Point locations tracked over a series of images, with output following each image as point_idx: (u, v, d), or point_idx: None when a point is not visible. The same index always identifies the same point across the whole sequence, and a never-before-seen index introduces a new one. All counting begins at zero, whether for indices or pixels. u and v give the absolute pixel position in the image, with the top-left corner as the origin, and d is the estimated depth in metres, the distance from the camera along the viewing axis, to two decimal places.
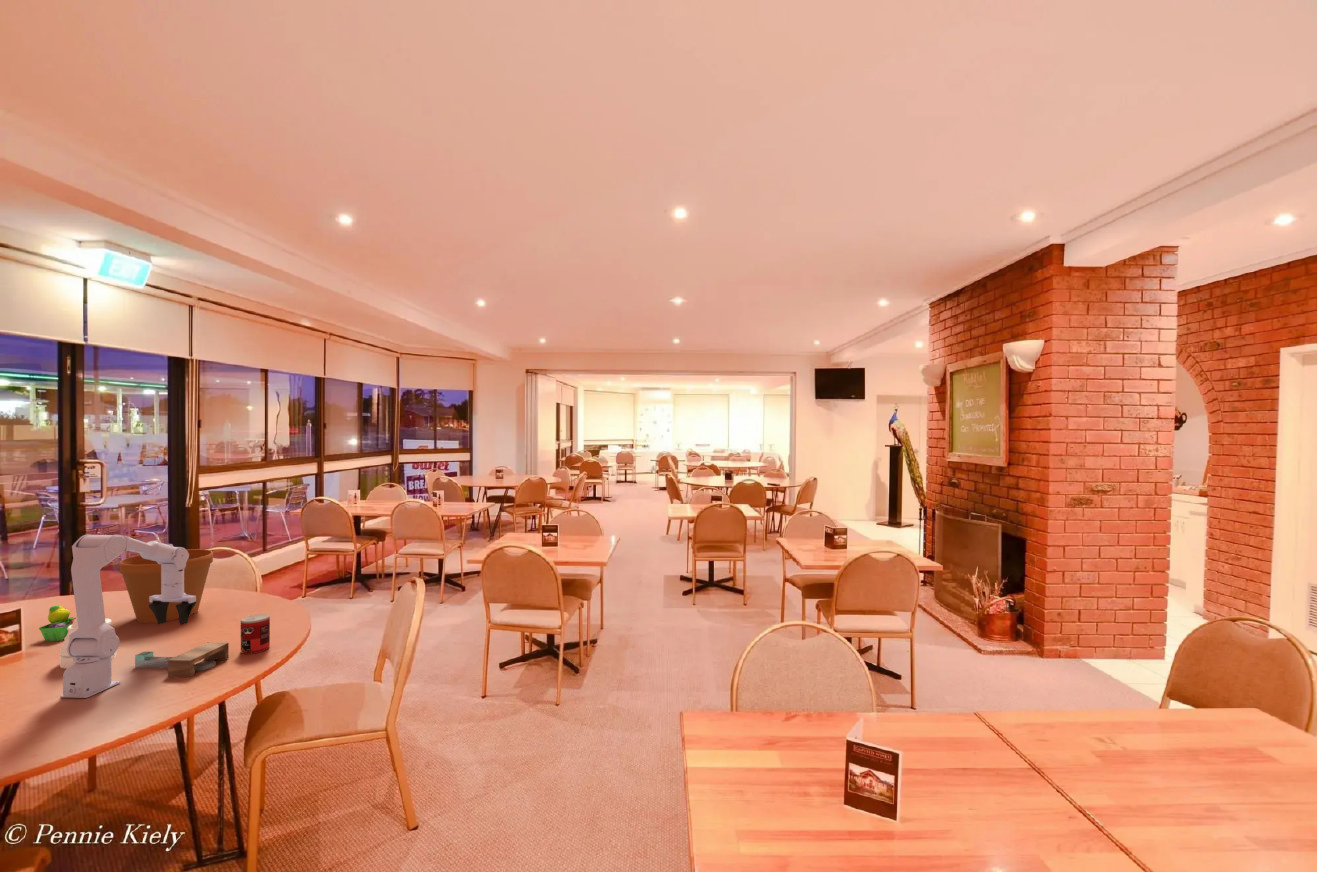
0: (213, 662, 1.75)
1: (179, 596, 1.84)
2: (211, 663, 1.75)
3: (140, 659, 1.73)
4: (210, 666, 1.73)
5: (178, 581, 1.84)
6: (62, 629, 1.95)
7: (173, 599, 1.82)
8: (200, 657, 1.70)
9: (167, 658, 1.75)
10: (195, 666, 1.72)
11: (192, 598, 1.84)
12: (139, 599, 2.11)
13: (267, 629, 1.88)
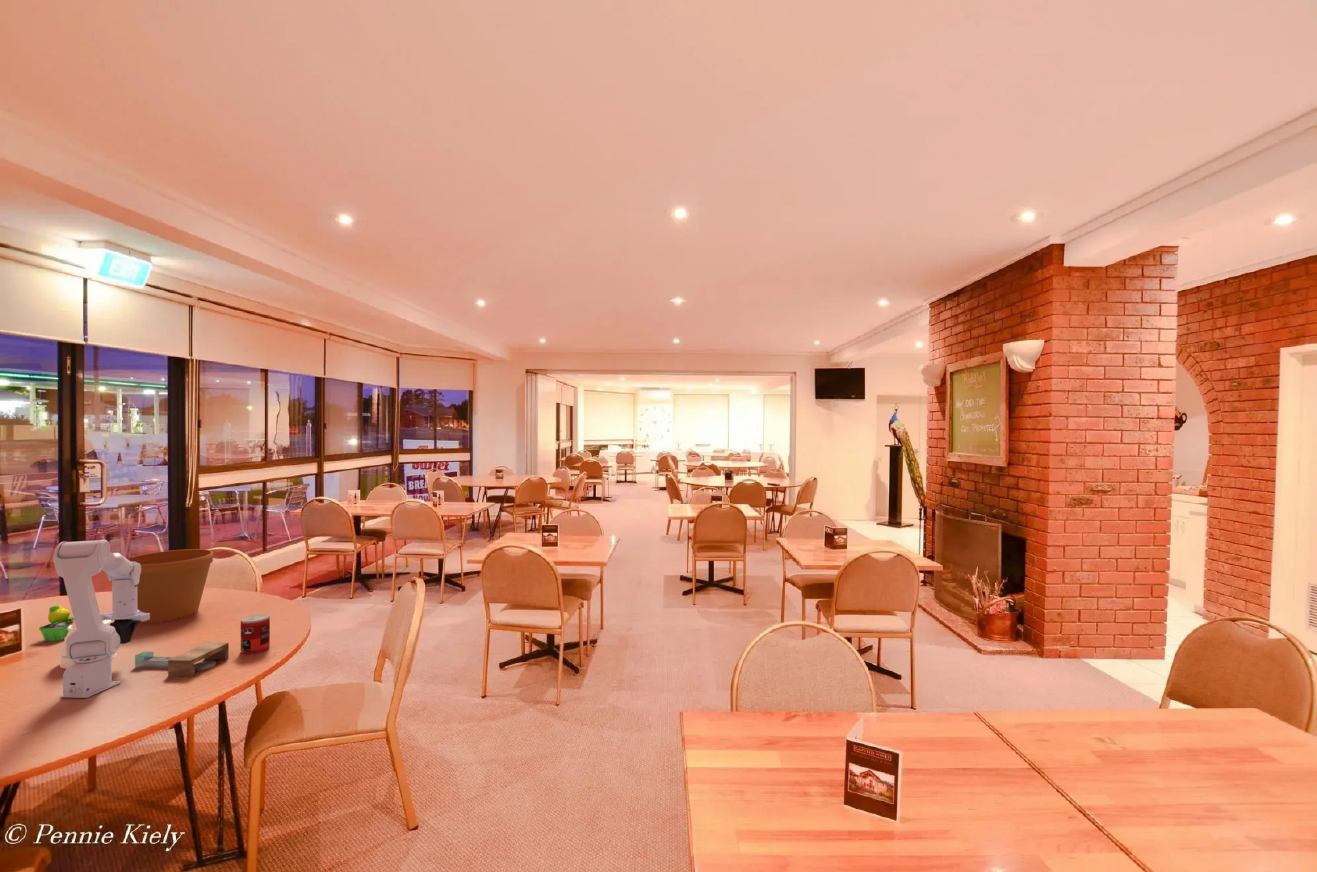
0: (213, 662, 1.75)
1: (132, 614, 1.74)
2: (211, 663, 1.75)
3: (140, 659, 1.73)
4: (210, 666, 1.73)
5: (134, 597, 1.75)
6: (62, 629, 1.95)
7: (125, 617, 1.73)
8: (200, 657, 1.70)
9: (167, 658, 1.75)
10: (195, 666, 1.72)
11: (145, 616, 1.74)
12: (139, 599, 2.11)
13: (267, 629, 1.88)
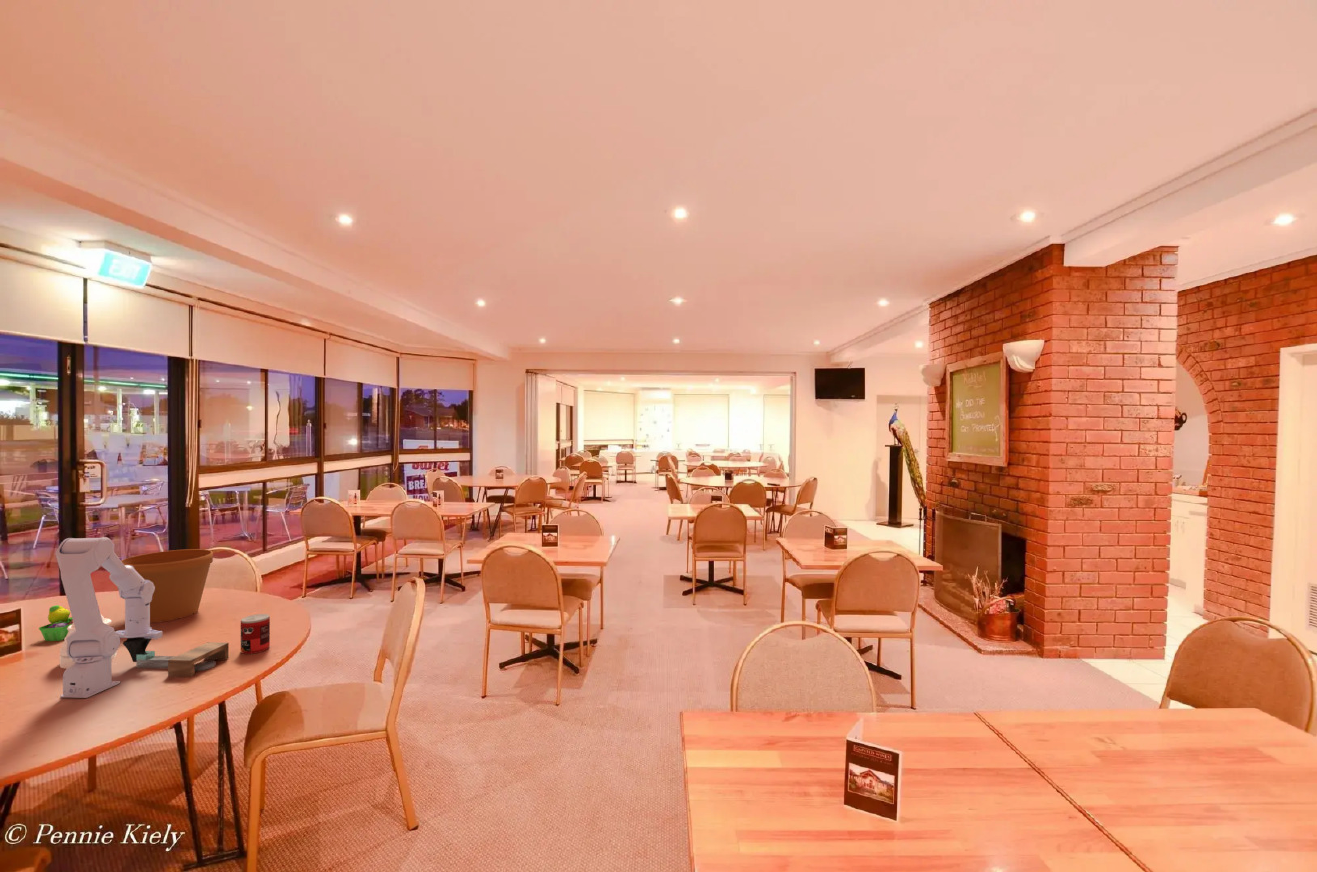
0: (213, 662, 1.75)
1: (144, 632, 1.74)
2: (211, 663, 1.75)
3: (142, 659, 1.73)
4: (210, 666, 1.73)
5: (145, 616, 1.74)
6: (62, 629, 1.95)
7: (138, 635, 1.72)
8: (200, 657, 1.70)
9: (168, 657, 1.75)
10: (195, 666, 1.72)
11: (158, 634, 1.74)
12: None
13: (267, 629, 1.88)
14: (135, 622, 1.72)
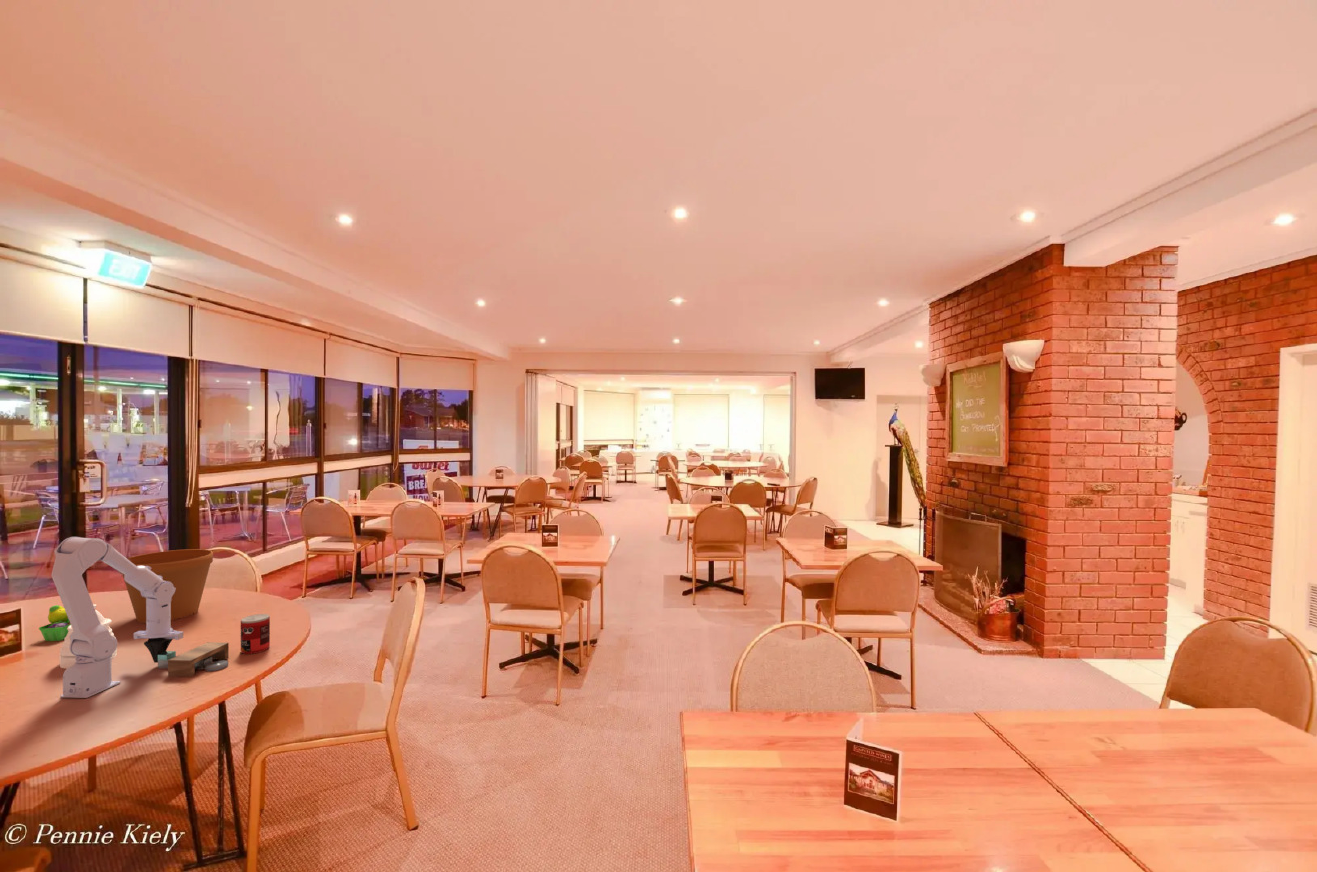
0: (226, 662, 1.75)
1: (165, 632, 1.74)
2: (224, 663, 1.74)
3: (163, 659, 1.73)
4: (223, 666, 1.73)
5: (161, 617, 1.73)
6: (62, 629, 1.95)
7: (159, 636, 1.72)
8: (200, 657, 1.70)
9: None
10: (208, 666, 1.72)
11: (179, 634, 1.74)
12: (139, 599, 2.11)
13: (267, 629, 1.88)
14: (156, 622, 1.72)
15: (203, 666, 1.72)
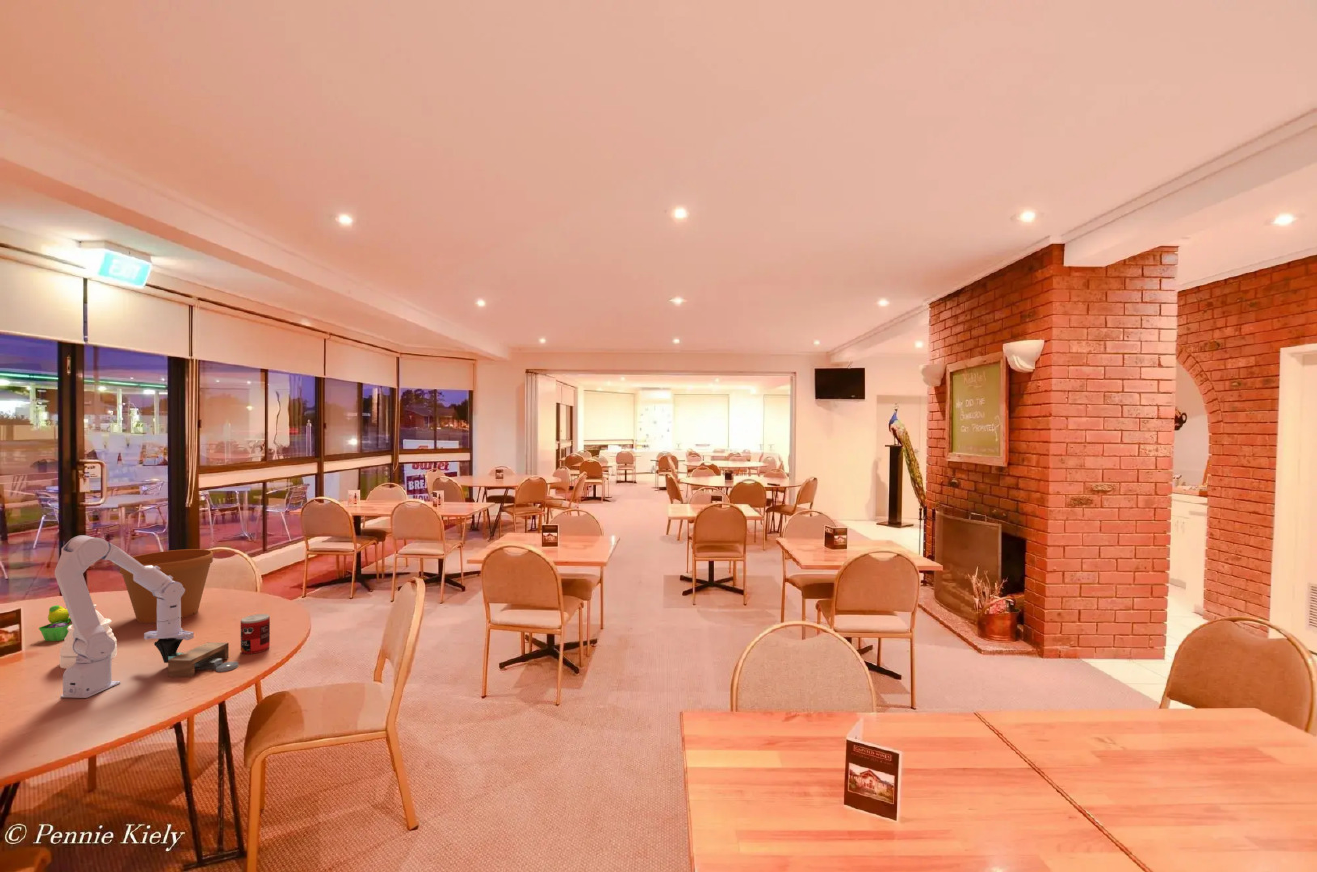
0: (236, 663, 1.75)
1: (176, 633, 1.74)
2: (234, 664, 1.74)
3: None
4: (233, 667, 1.72)
5: (169, 618, 1.72)
6: (62, 629, 1.95)
7: (169, 636, 1.72)
8: (200, 657, 1.70)
9: None
10: (218, 667, 1.72)
11: (189, 635, 1.74)
12: (139, 599, 2.11)
13: (267, 629, 1.88)
14: (167, 623, 1.72)
15: (213, 667, 1.72)
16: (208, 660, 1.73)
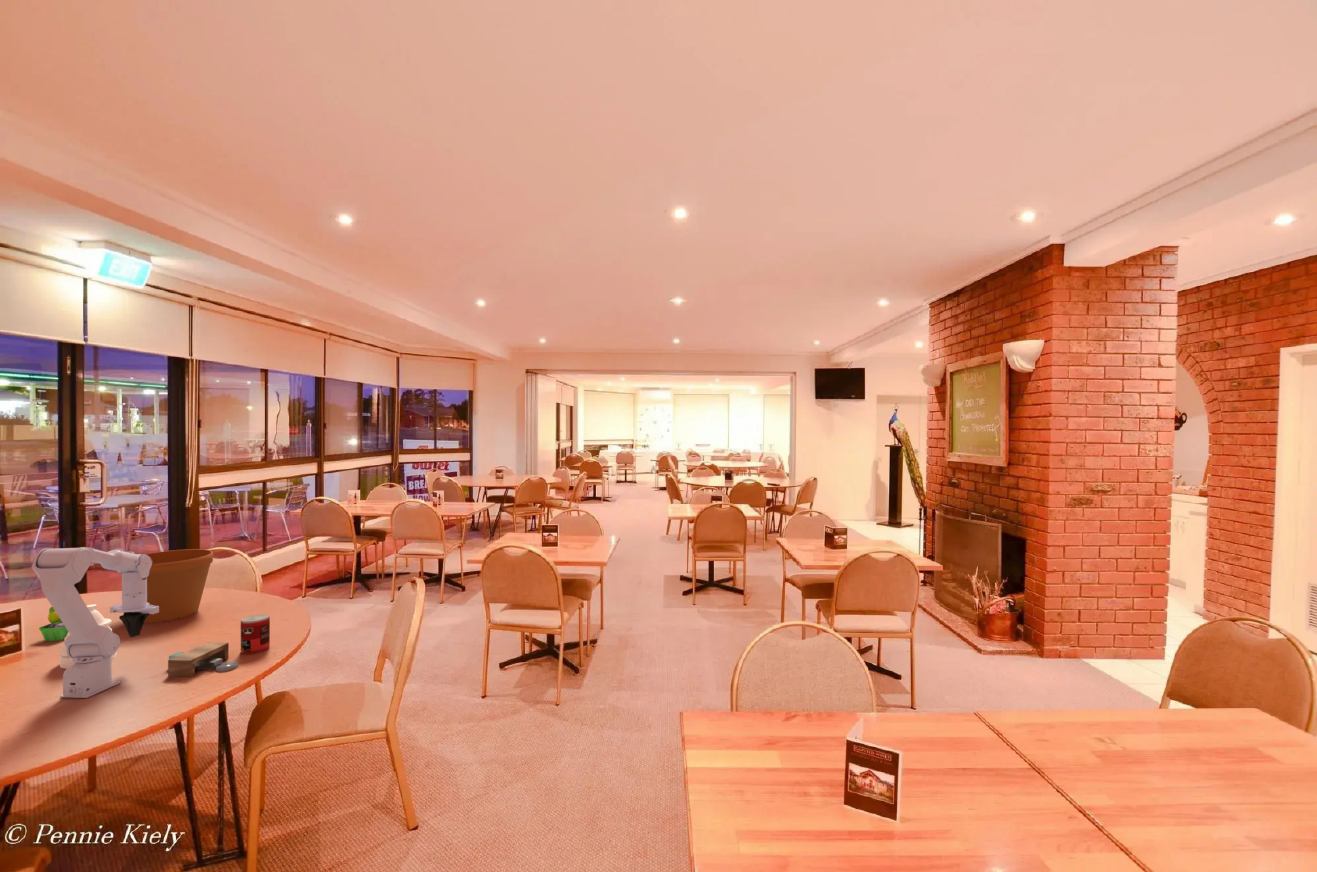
0: (236, 663, 1.75)
1: (141, 607, 1.73)
2: (234, 664, 1.74)
3: None
4: (233, 667, 1.72)
5: (141, 590, 1.73)
6: (62, 629, 1.95)
7: (134, 610, 1.71)
8: (200, 657, 1.70)
9: None
10: (218, 667, 1.72)
11: (154, 609, 1.73)
12: None
13: (267, 629, 1.88)
14: (132, 596, 1.71)
15: (213, 667, 1.72)
16: (208, 660, 1.73)
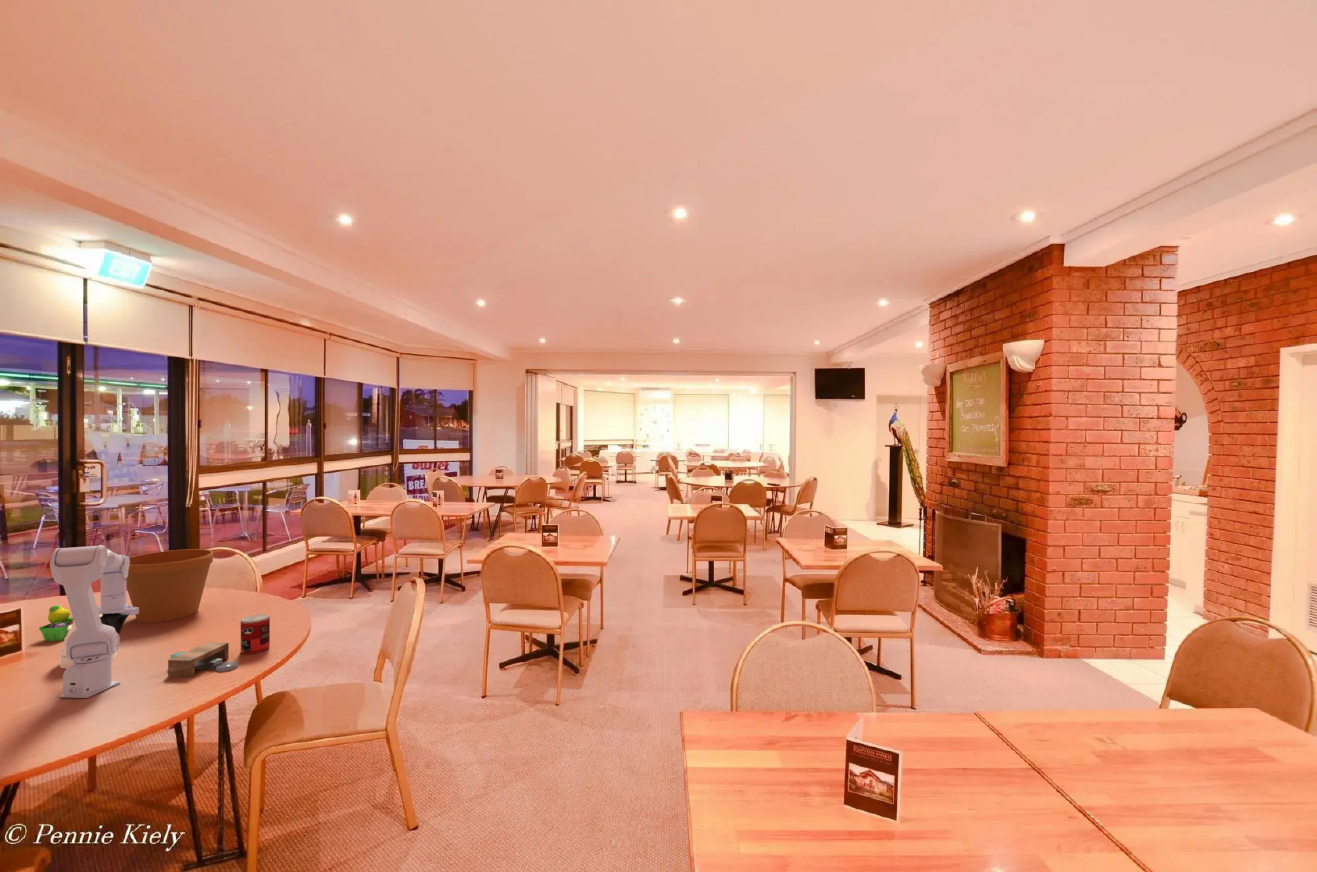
0: (236, 663, 1.75)
1: (120, 608, 1.71)
2: (234, 664, 1.74)
3: None
4: (233, 667, 1.72)
5: (124, 590, 1.72)
6: (62, 629, 1.95)
7: (113, 611, 1.70)
8: (200, 657, 1.70)
9: None
10: (218, 667, 1.72)
11: (134, 610, 1.71)
12: (139, 599, 2.11)
13: (267, 629, 1.88)
14: (111, 598, 1.70)
15: (213, 668, 1.72)
16: (208, 660, 1.73)
